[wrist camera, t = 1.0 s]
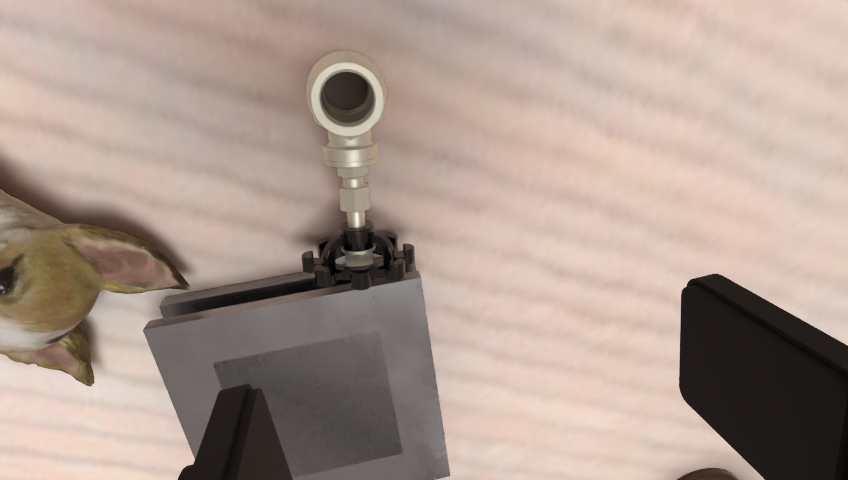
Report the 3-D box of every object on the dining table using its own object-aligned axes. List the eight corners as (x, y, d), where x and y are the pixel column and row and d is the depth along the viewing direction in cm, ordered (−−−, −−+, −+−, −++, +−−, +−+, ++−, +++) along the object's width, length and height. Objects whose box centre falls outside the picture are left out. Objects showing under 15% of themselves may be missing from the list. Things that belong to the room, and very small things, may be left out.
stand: (165, 297, 32) (142, 330, 29) (411, 251, 34) (420, 277, 30) (233, 481, 38) (222, 527, 35) (439, 435, 40) (450, 475, 36)
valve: (283, 51, 28) (306, 249, 33) (268, 53, 22) (299, 296, 27) (400, 48, 29) (407, 241, 34) (417, 50, 23) (422, 285, 28)
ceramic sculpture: (-183, 114, 18) (172, 336, 25) (-35, 83, 26) (207, 258, 33) (-330, 302, 20) (39, 466, 26) (-150, 221, 28) (102, 362, 34)
